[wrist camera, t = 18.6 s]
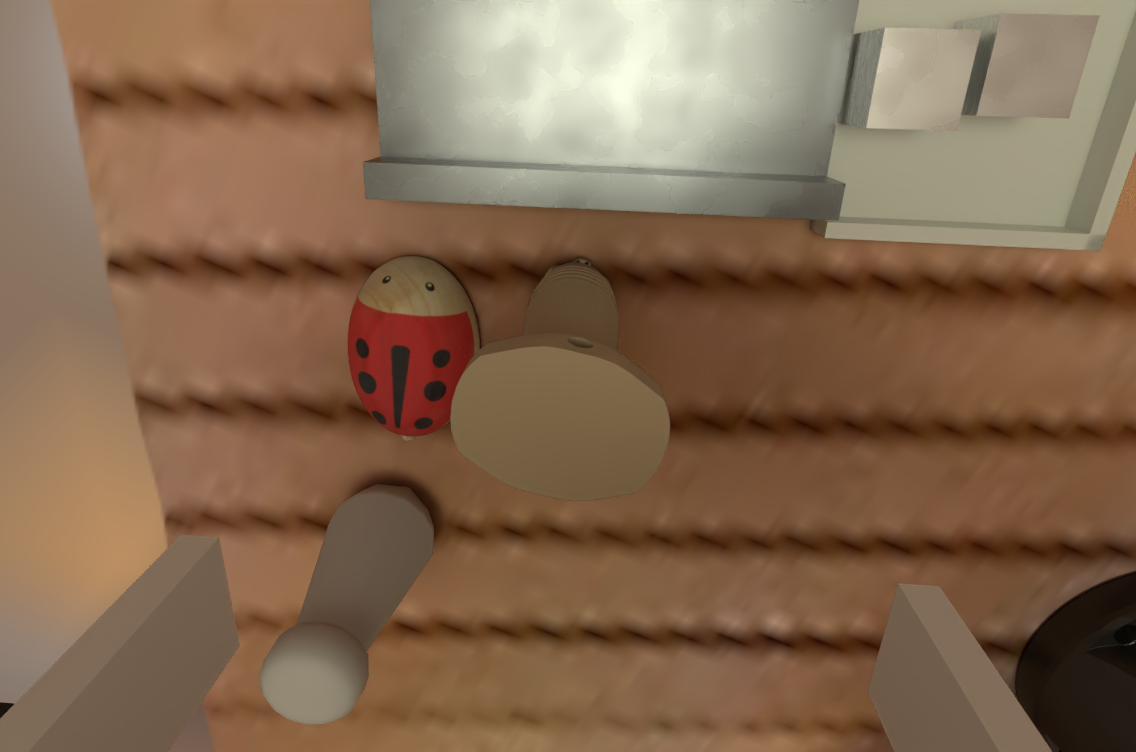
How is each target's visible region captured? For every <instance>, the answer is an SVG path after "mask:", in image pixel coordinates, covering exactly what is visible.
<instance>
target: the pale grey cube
mask: <svg viewBox="0 0 1136 752" xmlns="http://www.w3.org/2000/svg"><path fill="white" fill-rule="evenodd" d="M1099 17H1100V15H1061V14H1019V13H1000V14H994V15H989V16H983V17H978V18H972V19H967V20H962V21H956V22H955V24H954V29H961V30H981V34H980V38H979V42H978V46H977V50H976V54H975V59H974V63H973V67H972V71H971V75H970V79H969V83H968V88H967V92H966V96H965V100H964V104H963V108H962V112H961V115H971V116H997V117H1032V118H1067V119H1069V117H1070V113H1071V110H1072V107H1073V103H1074V100H1075V97H1076V93H1077V90H1078V87H1079V83H1080V80H1081V77H1082V73H1083V70H1084V67H1085V63H1086V60H1087V57H1088V53H1089V50H1090V47H1091V43H1092V40H1093V37H1094V33H1095V30H1096V27H1097V23H1098V20H1099Z"/></svg>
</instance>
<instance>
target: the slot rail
mask: <svg viewBox="0 0 1136 752" xmlns="http://www.w3.org/2000/svg"><path fill="white" fill-rule="evenodd" d="M858 5H859V0H370V8H371V22H372V37H373V51H374V66H375V80H376V95H377V109H378V123H379V138H380V152H381V157H378V158H374V159H371V160H368V161H365V162H363V170H364V182H365V195H366V199H380V200H401V201H423V202H445V203H467V204H488V205H510V206H532V207H554V208H575V209H597V210H619V211H641V212H662V213H684V214H706V215H728V216H749V217H771V218H793V219H815V220H836V221H839V216H840V211H841V206H842V201H843V196H844V191H845V186H846V184H845V183H843V182H840V181H838V180H835V179H833V178H830V177H827V173H828V168H829V162H830V157H831V151H832V146H833V141H834V135H835V130H836V124H837V119H838V114H839V108H840V103H841V97H842V92H843V87H844V81H845V76H846V70H847V65H848V59H849V54H850V49H851V43H852V38H853V32H854V27H855V22H856V16H857V11H858Z"/></svg>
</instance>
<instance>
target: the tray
mask: <svg viewBox="0 0 1136 752" xmlns="http://www.w3.org/2000/svg"><path fill="white" fill-rule="evenodd" d="M1000 13H1019V14H1061V15H1100V17H1099V20H1098V23H1097V27H1096V30H1095V33H1094V37H1093V40H1092V43H1091V47H1090V50H1089V53H1088V57H1087V60H1086V63H1085V67H1084V70H1083V73H1082V77H1081V80H1080V83H1079V87H1078V90H1077V93H1076V97H1075V100H1074V103H1073V107H1072V110H1071V113H1070V117H1069V119H1067V118H1032V117H997V116H971V115H961V117H960V121H959V125H958V129H957V131H941V130H908V129H875V128H861V127H855V126H848V125H842V124H836V130H835V135H834V141H833V146H832V151H831V157H830V162H829V168H828V173H827V177H830V178H833V179H835V180H838V181H840V182H843V183H845V184H846V186H845V191H844V196H843V201H842V206H841V211H840V216H839V221H836V220H815V219H812V221H811V227H810V229H812V230H813V231H815V232H816V233H818V234H819V235H821V236H822V237H824V238H835V239H856V240H877V241H899V242H920V243H942V244H963V245H985V246H1006V247H1028V248H1049V249H1070V250H1092V251H1100V250H1101V247H1102V245H1103V242H1104V239H1105V236H1106V233H1107V231H1108V228H1109V225H1110V222H1111V219H1112V216H1113V214H1114V211H1115V208H1116V205H1117V202H1118V200H1119V197H1120V194H1121V191H1122V188H1123V186H1124V183H1125V180H1126V177H1127V174H1128V172H1129V169H1130V166H1131V163H1132V160H1133V158H1134V155H1135V152H1136V0H859V5H858V11H857V16H856V22H855V27H854V32H853V34H857V33H861V32H866V31H871V30H876V29H881V28H923V29H954V24H955V22H956V21H962V20H967V19H972V18H978V17H983V16H989V15H994V14H1000ZM839 109H840V108H839ZM837 120H838V119H837Z"/></svg>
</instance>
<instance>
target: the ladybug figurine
mask: <svg viewBox="0 0 1136 752" xmlns="http://www.w3.org/2000/svg"><path fill="white" fill-rule="evenodd" d="M479 350H480V339H479V330H478V324H477V320H476V316H475V313H474V310H473V307H472V304H471V302H470V300H469V298H468V296H467V294H466V292H465V290H464V289H463V287H462V286H461V284H460V283H459V281H458V280H457V279H456V278H455V277H454V276H453V275H452V274H451V273H450V272H449V271H448V270H447V269H446V268H444V267H443V266H442V265H440V264H439V263H437V262H435V261H433V260H430V259H428V258H425V257H419V256H404V257H399V258H395V259H393V260H390V261H389V262H387V263H385V264H383V265H382V266H380V267H379V268H378V269H376V270H375V271H374V272H373V273H372V274H371V275H370V276H369V278H368V279H367V280H366V282H365V283H364V285H363V286H362V288H361V290H360V291H359V293H358V295H357V297H356V300H355V302H354V306H353V309H352V313H351V317H350V322H349V331H348V357H349V365H350V371H351V376H352V380H353V383H354V386H355V389H356V391H357V393H358V396H359V398H360V399H361V401H362V403H363V405H364V406H365V408H366V409H367V411H368V412H369V414H370V415H371V416H372V417H373V418H374V419H375V420H376V421H377V422H378V423H379V424H380V425H381V426H383V427H384V428H386V429H387V430H389V431H391V432H394V433H396V434H399V435H401V438H402V439H403V440H405V441H412V440H413V439H415V437H416V436H421V435H426V434H429V433H432V432H434V431H436V430H438V429H440V428H441V427H443V426H444V425H446V424H447V423H448V422H450V421H451V420H450V416H451V406H452V400H453V397H454V393H455V390H456V387H457V384H458V382H459V380H460V378H461V376H462V374H463V372H464V370H465V368H466V366H467V364H468V363H469V361H470V360H471V359H472V358H473V357H474V355H475V354H476V353H477V352H478V351H479Z"/></svg>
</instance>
